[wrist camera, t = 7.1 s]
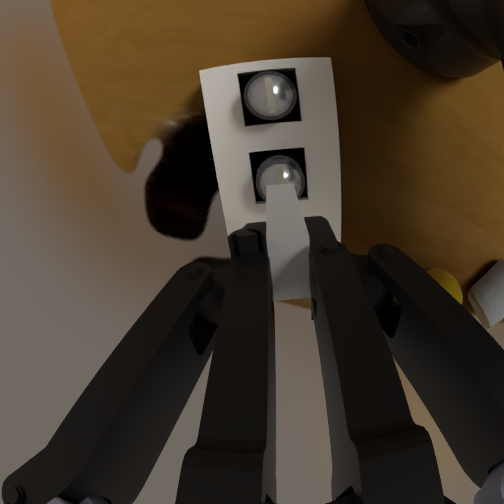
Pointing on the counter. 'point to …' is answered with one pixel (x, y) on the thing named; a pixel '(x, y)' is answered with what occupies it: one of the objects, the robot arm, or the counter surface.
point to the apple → (447, 282)
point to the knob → (270, 95)
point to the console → (274, 139)
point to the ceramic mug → (489, 295)
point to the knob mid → (279, 172)
